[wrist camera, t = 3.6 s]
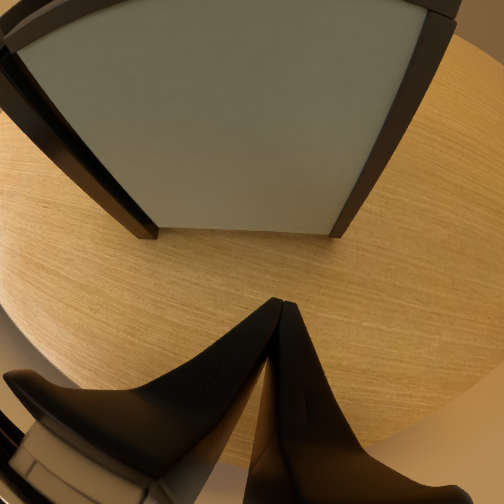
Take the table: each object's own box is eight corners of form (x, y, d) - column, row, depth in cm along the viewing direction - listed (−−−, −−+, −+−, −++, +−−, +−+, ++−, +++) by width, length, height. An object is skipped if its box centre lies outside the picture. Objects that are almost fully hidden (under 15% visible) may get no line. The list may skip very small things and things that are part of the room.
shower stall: (337, 249, 19) (482, -16, 2) (131, 239, 20) (-48, 65, 3) (326, 107, 23) (353, -75, 6) (168, 107, 24) (108, -53, 7)
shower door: (340, 238, 18) (467, 0, 3) (157, 230, 19) (1, 40, 3) (340, 221, 18) (446, -17, 3) (160, 214, 19) (22, 19, 4)
